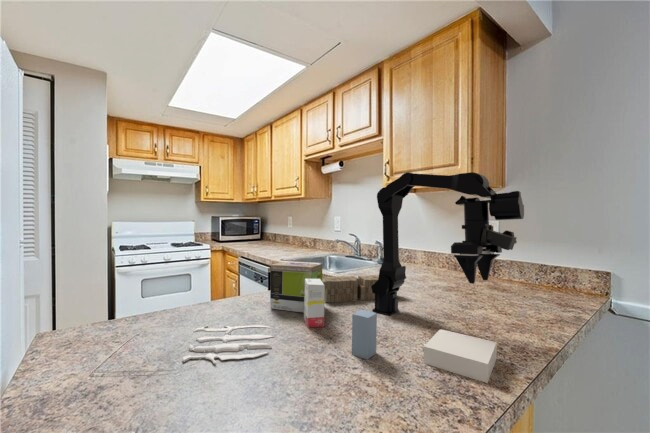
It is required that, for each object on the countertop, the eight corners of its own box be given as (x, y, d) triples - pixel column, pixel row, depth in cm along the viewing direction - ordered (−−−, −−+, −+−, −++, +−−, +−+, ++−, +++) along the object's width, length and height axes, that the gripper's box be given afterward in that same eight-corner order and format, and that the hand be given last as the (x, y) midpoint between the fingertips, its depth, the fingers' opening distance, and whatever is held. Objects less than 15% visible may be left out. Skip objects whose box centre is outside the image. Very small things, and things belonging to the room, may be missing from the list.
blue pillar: (351, 354, 66) (352, 313, 66) (360, 347, 70) (361, 309, 70) (367, 359, 64) (368, 317, 64) (376, 352, 67) (376, 313, 67)
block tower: (387, 295, 120) (316, 297, 112) (388, 274, 120) (317, 274, 112) (397, 300, 112) (322, 303, 104) (398, 278, 112) (323, 279, 104)
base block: (423, 365, 63) (423, 346, 63) (439, 345, 72) (440, 329, 72) (487, 385, 56) (487, 364, 56) (496, 360, 65) (496, 342, 65)
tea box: (322, 305, 102) (323, 262, 101) (312, 315, 92) (312, 267, 92) (283, 300, 106) (283, 259, 106) (269, 309, 97) (269, 263, 97)
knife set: (273, 368, 60) (273, 362, 60) (82, 378, 55) (82, 372, 55) (275, 324, 86) (275, 320, 86) (145, 328, 81) (145, 324, 81)
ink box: (324, 327, 82) (325, 284, 82) (306, 328, 81) (307, 284, 81) (319, 316, 90) (320, 277, 90) (303, 317, 90) (304, 278, 90)
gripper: (499, 217, 66) (502, 289, 64) (522, 221, 78) (525, 281, 77) (449, 219, 74) (451, 284, 72) (477, 223, 86) (479, 277, 85)
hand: (478, 281), depth 76 cm, fingers open, 9 cm apart
